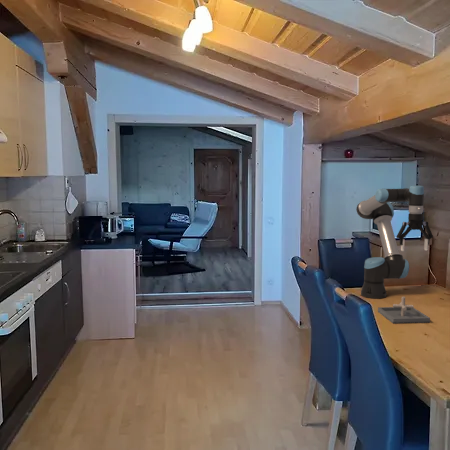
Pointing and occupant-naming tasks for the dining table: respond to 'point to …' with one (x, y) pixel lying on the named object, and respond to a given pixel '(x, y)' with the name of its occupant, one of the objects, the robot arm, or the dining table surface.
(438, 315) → the dining table surface
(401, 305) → the pipe connector
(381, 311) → the tray
